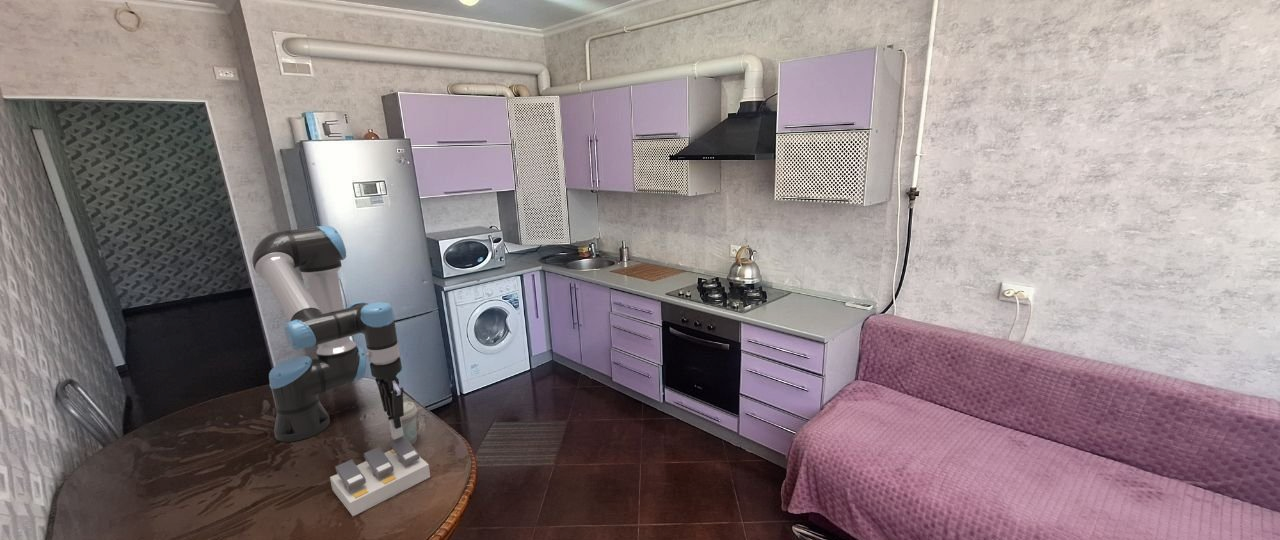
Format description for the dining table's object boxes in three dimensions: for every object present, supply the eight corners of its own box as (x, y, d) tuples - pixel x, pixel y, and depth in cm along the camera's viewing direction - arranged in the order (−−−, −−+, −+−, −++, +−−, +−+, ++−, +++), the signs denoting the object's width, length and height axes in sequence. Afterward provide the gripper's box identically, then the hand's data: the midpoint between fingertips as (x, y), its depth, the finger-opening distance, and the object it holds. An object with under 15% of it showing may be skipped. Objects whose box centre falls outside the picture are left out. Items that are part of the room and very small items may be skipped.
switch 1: (336, 471, 133) (335, 466, 133) (352, 464, 136) (351, 458, 135) (349, 491, 128) (348, 485, 127) (366, 483, 131) (365, 477, 130)
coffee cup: (410, 451, 152) (404, 416, 149) (385, 449, 154) (379, 413, 151) (427, 435, 160) (422, 401, 157) (403, 433, 162) (397, 399, 159)
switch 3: (390, 446, 143) (390, 441, 142) (404, 439, 146) (404, 435, 145) (404, 465, 138) (404, 461, 137) (419, 458, 141) (419, 454, 140)
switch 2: (364, 457, 138) (363, 452, 137) (379, 450, 141) (379, 446, 140) (378, 478, 133) (377, 473, 132) (393, 471, 136) (393, 466, 135)
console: (332, 490, 136) (328, 472, 135) (406, 455, 150) (404, 438, 149) (352, 516, 126) (349, 497, 125) (430, 476, 141) (427, 459, 139)
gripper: (361, 357, 139) (374, 433, 145) (380, 371, 130) (393, 451, 136) (389, 349, 144) (401, 422, 150) (409, 361, 136) (421, 439, 141)
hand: (397, 436), depth 143 cm, fingers closed
